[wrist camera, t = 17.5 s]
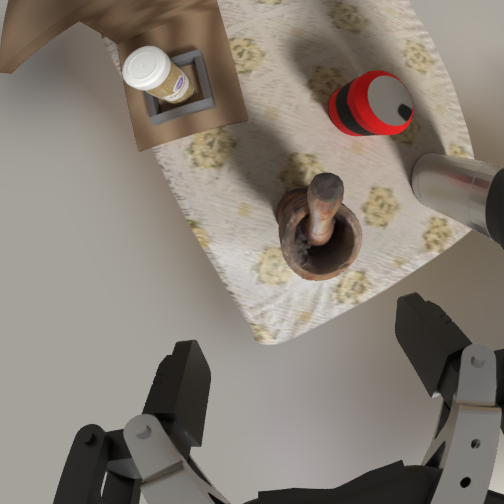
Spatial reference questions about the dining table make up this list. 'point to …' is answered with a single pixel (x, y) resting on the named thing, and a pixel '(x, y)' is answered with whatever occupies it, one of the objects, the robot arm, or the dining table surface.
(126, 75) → the sprinkles bottle
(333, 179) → the mortar and pestle
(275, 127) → the dining table surface
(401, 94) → the soda can
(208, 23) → the overhang stand
